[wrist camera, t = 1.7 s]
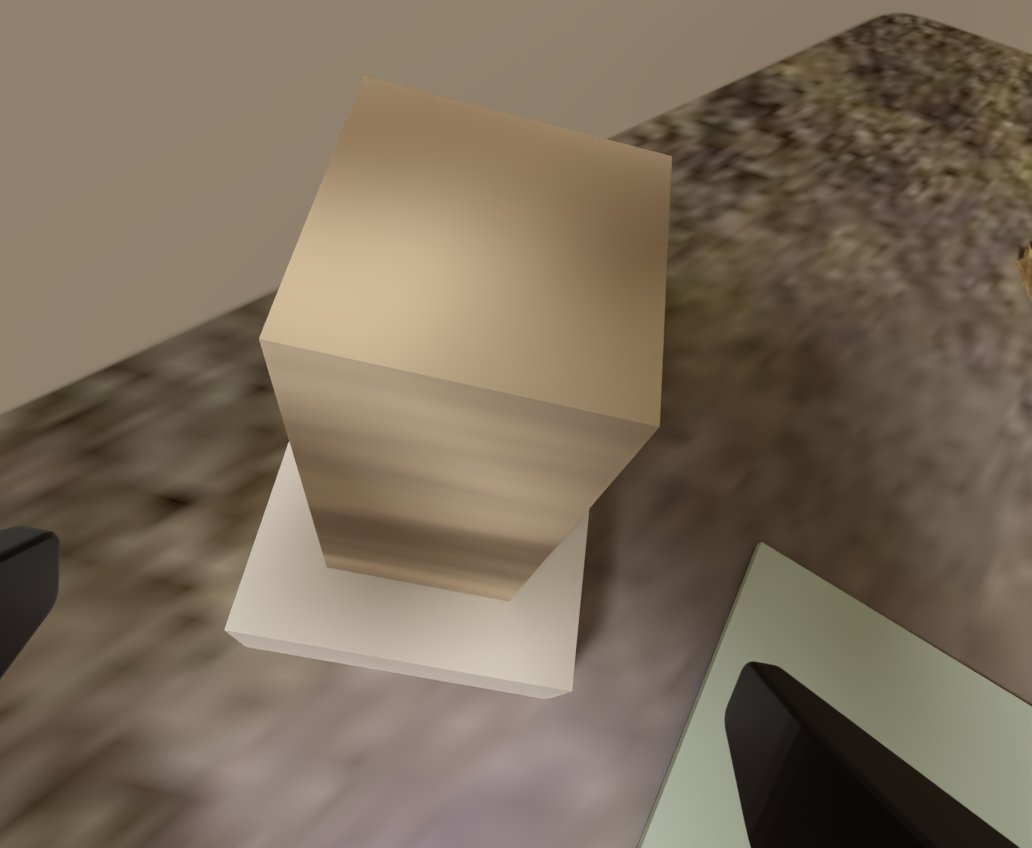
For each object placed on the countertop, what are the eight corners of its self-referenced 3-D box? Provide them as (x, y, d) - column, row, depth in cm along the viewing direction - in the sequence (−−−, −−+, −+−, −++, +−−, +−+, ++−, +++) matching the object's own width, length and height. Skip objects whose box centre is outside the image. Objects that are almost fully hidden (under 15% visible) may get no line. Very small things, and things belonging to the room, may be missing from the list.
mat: (1016, 1175, 17) (1026, 1182, 17) (614, 903, 18) (618, 906, 18) (1064, 731, 22) (1072, 731, 22) (756, 544, 23) (761, 541, 23)
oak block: (509, 601, 18) (660, 427, 8) (326, 567, 17) (259, 338, 8) (532, 440, 20) (672, 156, 11) (372, 405, 20) (364, 75, 10)
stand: (546, 699, 20) (571, 691, 17) (246, 646, 19) (224, 629, 16) (576, 437, 24) (600, 398, 21) (331, 384, 23) (324, 337, 20)
